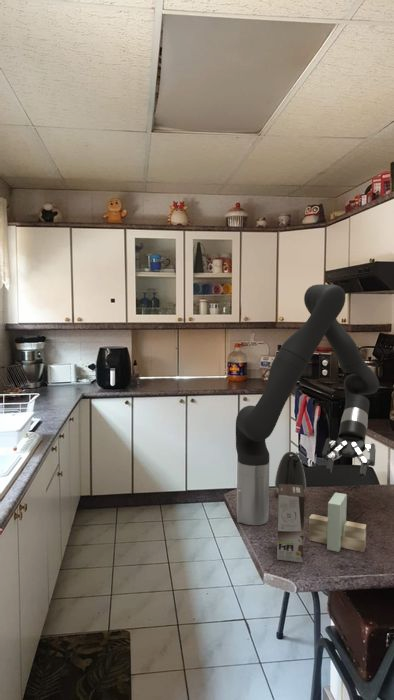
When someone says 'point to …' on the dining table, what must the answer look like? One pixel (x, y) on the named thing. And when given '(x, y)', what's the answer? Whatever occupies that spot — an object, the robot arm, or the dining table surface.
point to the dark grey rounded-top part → (290, 471)
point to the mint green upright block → (336, 521)
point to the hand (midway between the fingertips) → (345, 474)
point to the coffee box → (290, 522)
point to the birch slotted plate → (349, 539)
